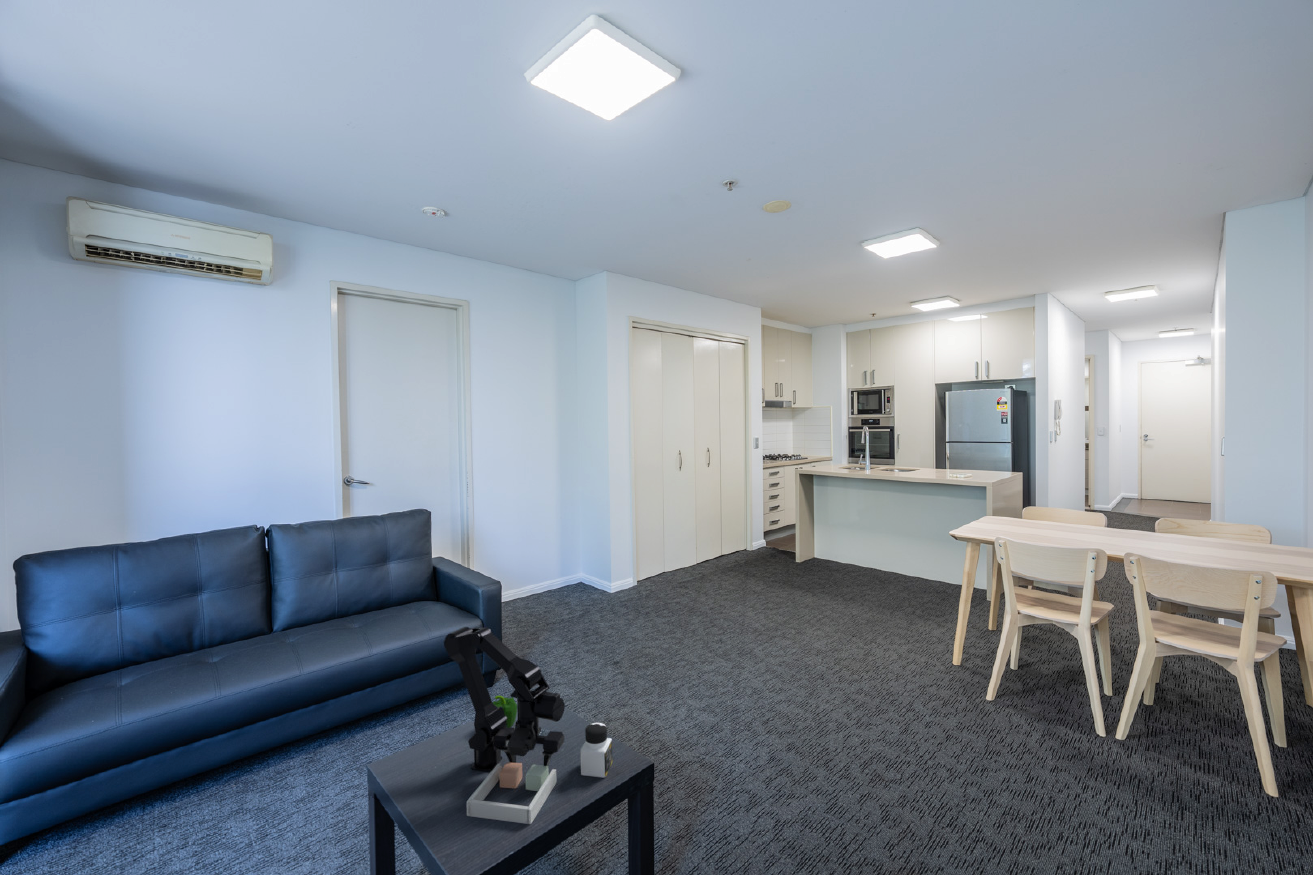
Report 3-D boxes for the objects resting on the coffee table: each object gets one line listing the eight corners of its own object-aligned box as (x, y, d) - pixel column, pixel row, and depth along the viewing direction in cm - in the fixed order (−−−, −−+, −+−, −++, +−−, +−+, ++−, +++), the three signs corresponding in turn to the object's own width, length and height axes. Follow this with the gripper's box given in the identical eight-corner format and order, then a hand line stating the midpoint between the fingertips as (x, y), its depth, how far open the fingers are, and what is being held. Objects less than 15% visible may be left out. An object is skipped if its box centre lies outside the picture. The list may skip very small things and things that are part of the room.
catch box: (466, 815, 134) (466, 801, 134) (498, 775, 149) (498, 763, 149) (530, 824, 130) (530, 809, 130) (556, 782, 146) (556, 769, 146)
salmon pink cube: (499, 787, 144) (499, 772, 144) (506, 776, 149) (506, 762, 149) (515, 788, 144) (515, 773, 144) (522, 777, 148) (522, 763, 148)
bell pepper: (521, 719, 179) (521, 689, 179) (511, 733, 171) (510, 701, 171) (497, 718, 180) (497, 688, 180) (486, 731, 172) (485, 700, 172)
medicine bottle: (605, 778, 147) (604, 734, 147) (580, 775, 149) (579, 732, 149) (612, 762, 154) (611, 720, 154) (588, 760, 156) (588, 718, 156)
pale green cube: (525, 789, 143) (525, 774, 143) (533, 778, 148) (533, 764, 148) (541, 791, 142) (541, 776, 142) (548, 781, 146) (548, 766, 146)
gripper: (482, 726, 143) (483, 785, 143) (548, 732, 139) (550, 792, 139) (502, 705, 154) (503, 760, 154) (564, 710, 150) (565, 766, 150)
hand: (529, 769), depth 149 cm, fingers open, 9 cm apart
